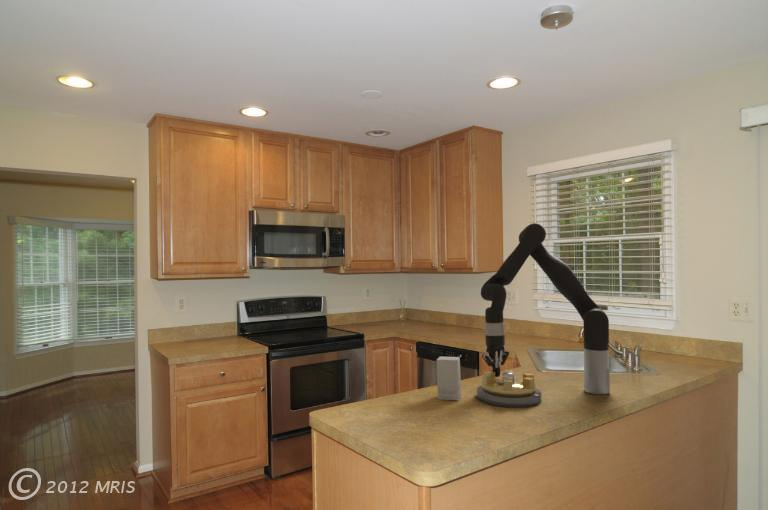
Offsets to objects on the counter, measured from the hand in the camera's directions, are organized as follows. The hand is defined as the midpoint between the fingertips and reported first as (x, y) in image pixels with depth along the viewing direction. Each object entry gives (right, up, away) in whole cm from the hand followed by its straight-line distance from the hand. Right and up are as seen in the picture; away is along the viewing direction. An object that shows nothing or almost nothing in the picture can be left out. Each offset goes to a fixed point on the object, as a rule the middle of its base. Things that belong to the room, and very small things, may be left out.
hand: (496, 376), depth 200 cm
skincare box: (-20, -7, -7) cm, 22 cm away
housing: (+3, -7, -8) cm, 11 cm away
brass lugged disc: (+3, -3, -8) cm, 9 cm away
